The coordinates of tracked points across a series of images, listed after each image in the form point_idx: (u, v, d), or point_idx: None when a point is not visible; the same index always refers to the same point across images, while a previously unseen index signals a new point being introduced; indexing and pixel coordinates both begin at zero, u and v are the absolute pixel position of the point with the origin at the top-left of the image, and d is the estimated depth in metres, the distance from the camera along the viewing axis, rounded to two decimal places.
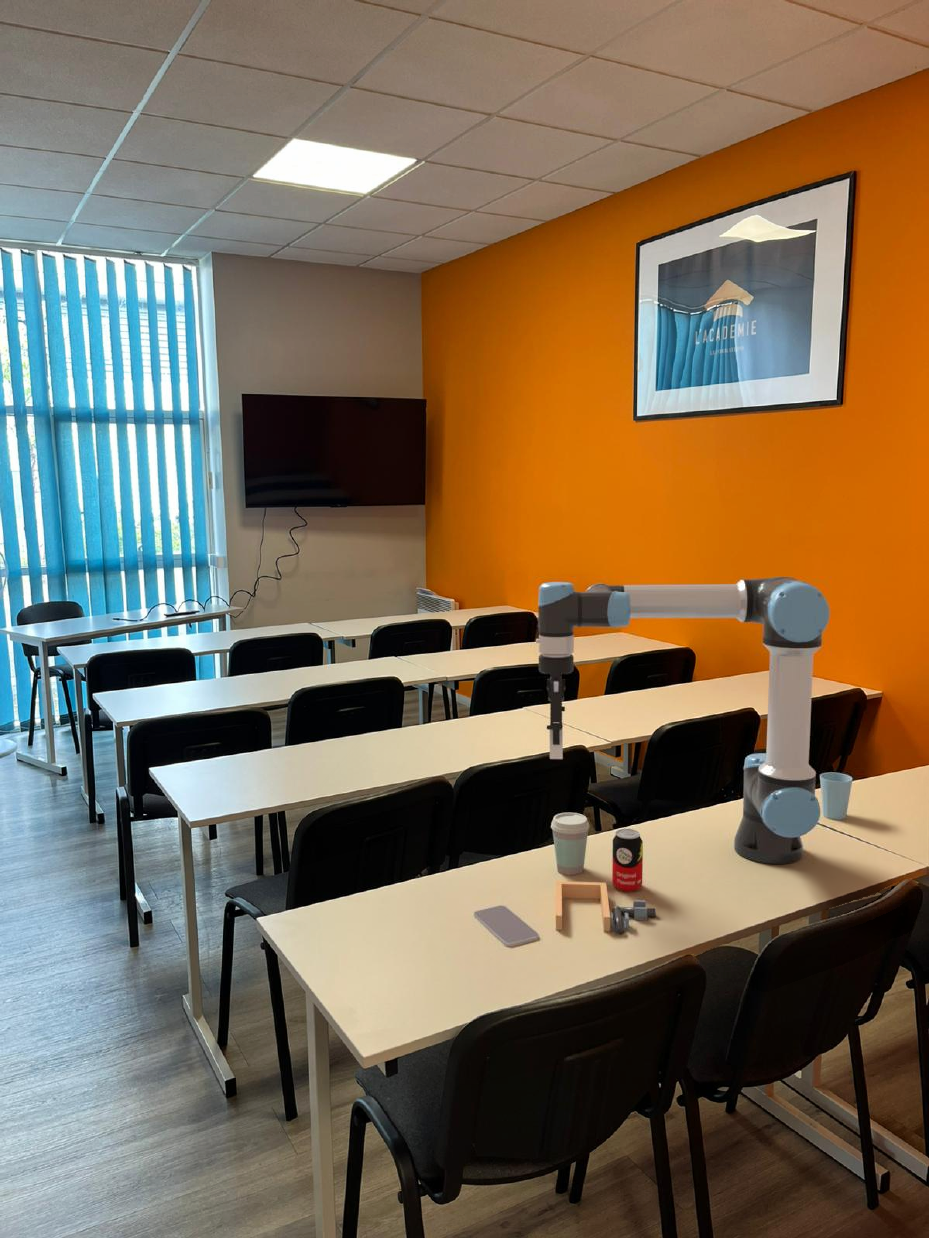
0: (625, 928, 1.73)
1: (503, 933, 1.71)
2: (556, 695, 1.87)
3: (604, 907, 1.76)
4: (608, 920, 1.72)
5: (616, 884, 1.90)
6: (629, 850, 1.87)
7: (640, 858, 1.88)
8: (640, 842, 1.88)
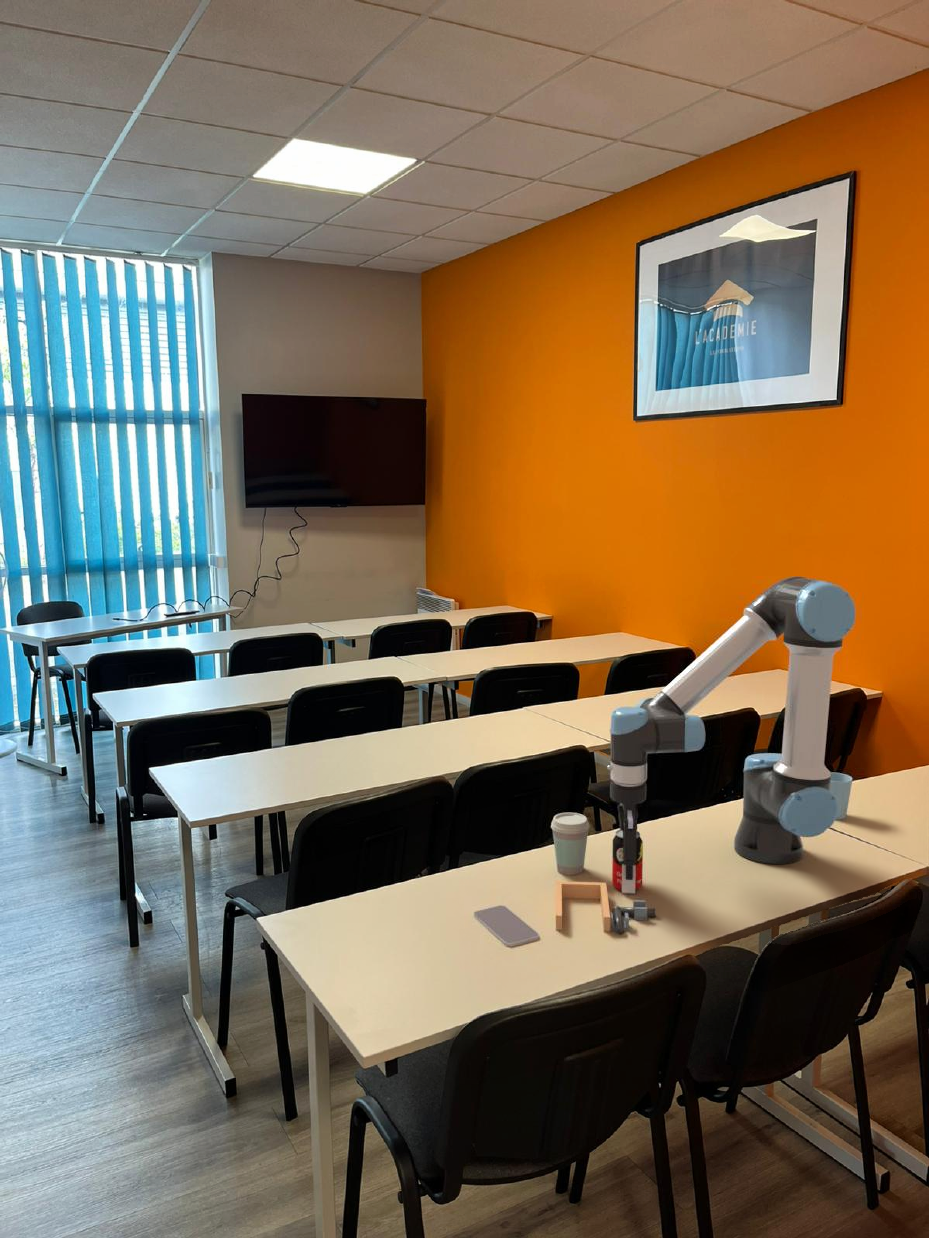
0: (625, 928, 1.73)
1: (503, 933, 1.71)
2: (630, 832, 1.83)
3: (604, 907, 1.76)
4: (608, 920, 1.72)
5: (616, 884, 1.90)
6: None
7: (640, 858, 1.88)
8: (640, 842, 1.88)
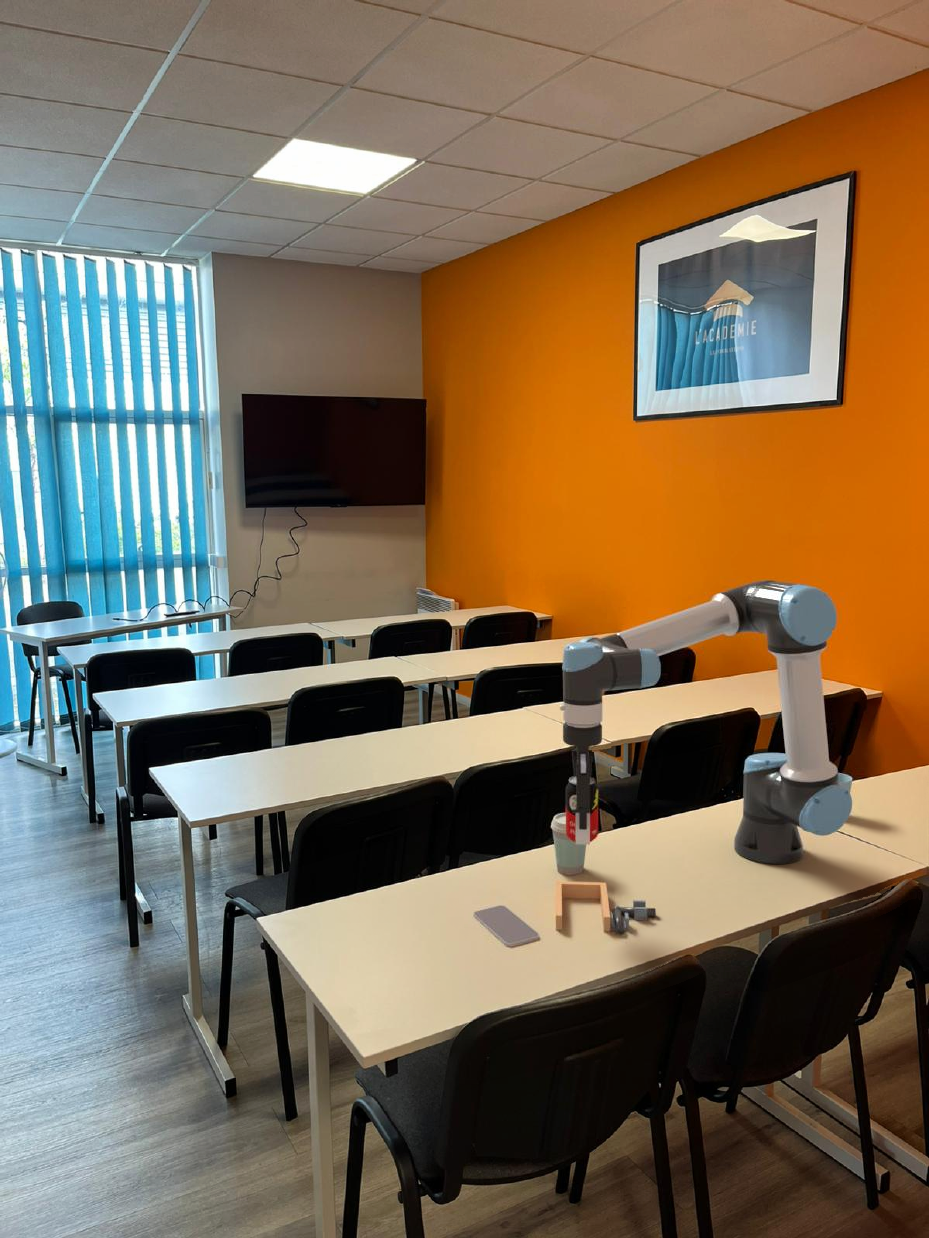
0: (625, 928, 1.73)
1: (503, 933, 1.71)
2: (583, 777, 1.68)
3: (604, 907, 1.76)
4: (608, 920, 1.72)
5: (569, 835, 1.75)
6: None
7: (595, 806, 1.73)
8: (595, 789, 1.73)
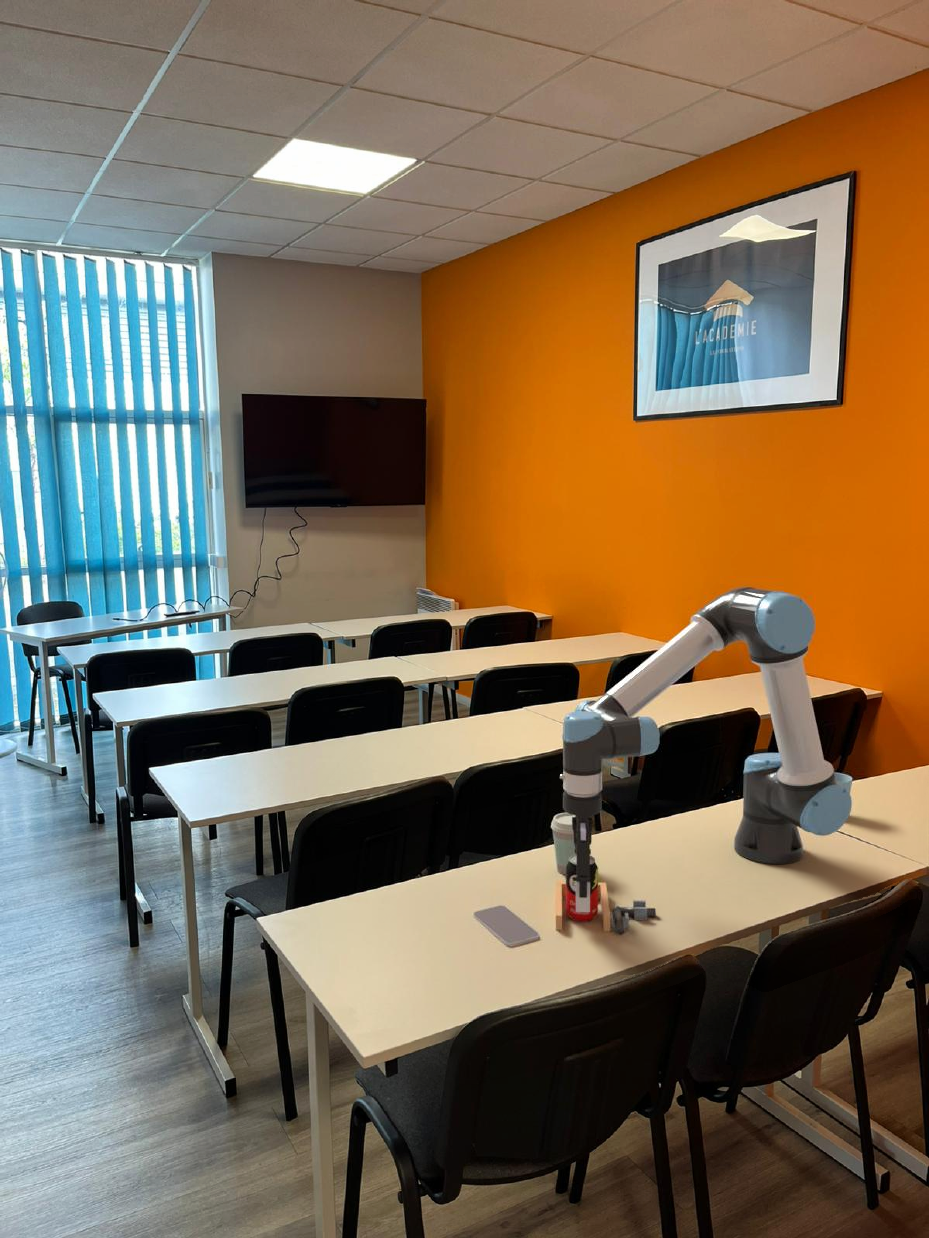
0: (625, 928, 1.73)
1: (503, 933, 1.71)
2: (583, 844, 1.69)
3: (604, 907, 1.76)
4: (608, 920, 1.72)
5: (569, 913, 1.77)
6: None
7: (595, 886, 1.76)
8: (595, 869, 1.76)
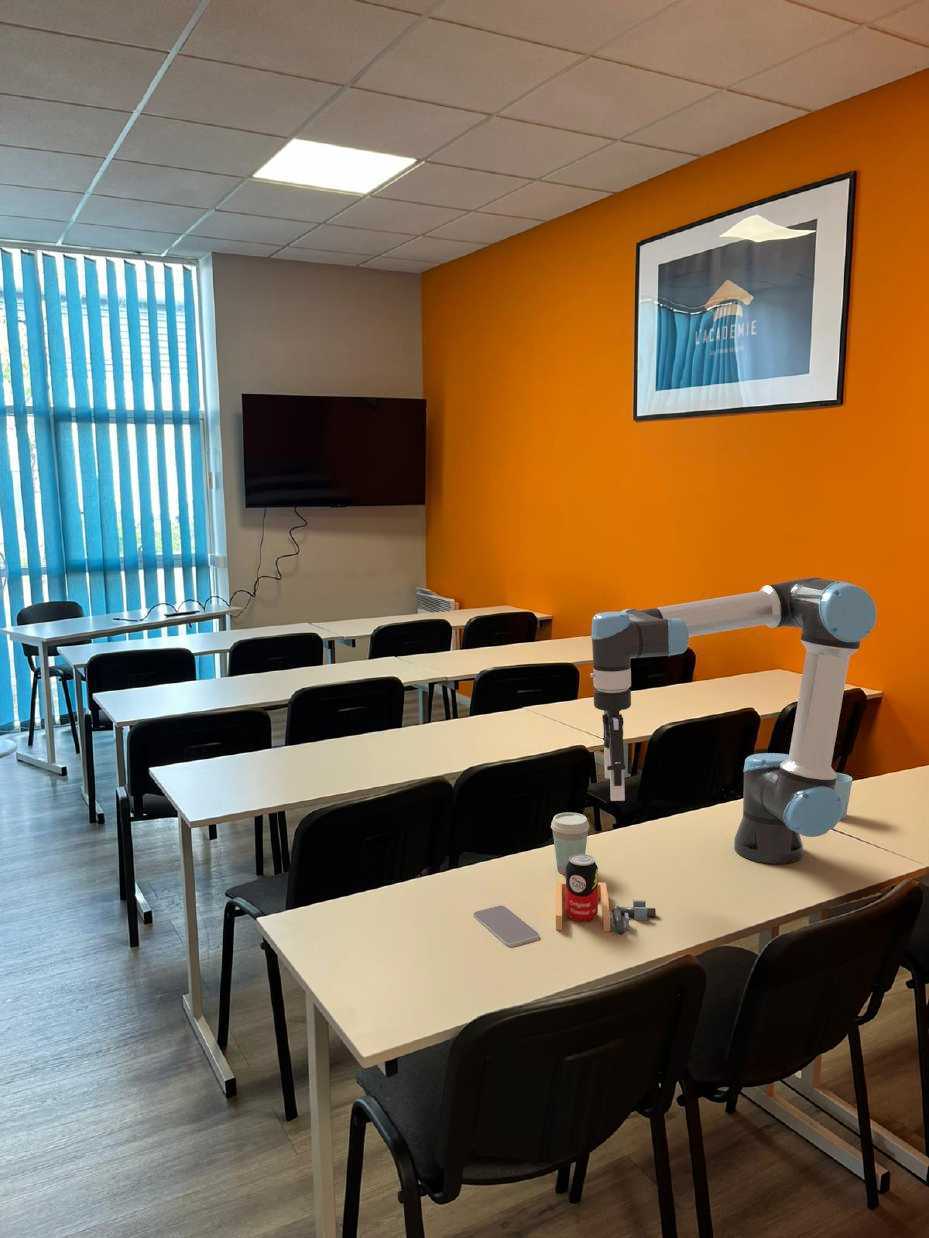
0: (625, 928, 1.73)
1: (503, 933, 1.71)
2: (616, 733, 1.76)
3: (604, 907, 1.76)
4: (608, 920, 1.72)
5: (569, 913, 1.77)
6: (582, 877, 1.74)
7: (595, 886, 1.76)
8: (595, 869, 1.76)
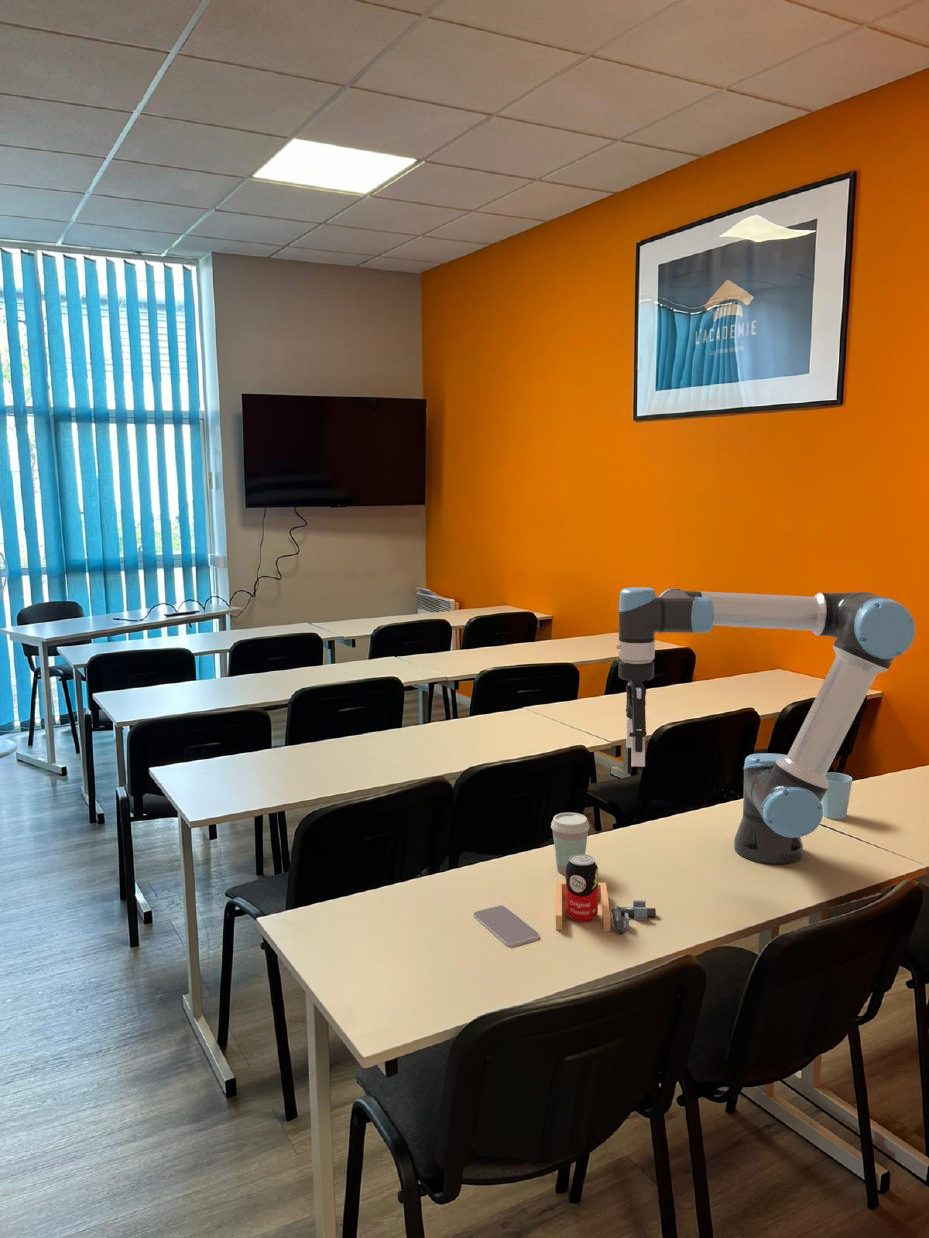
0: (625, 928, 1.73)
1: (504, 933, 1.71)
2: (639, 702, 1.85)
3: (604, 907, 1.76)
4: (608, 920, 1.72)
5: (569, 913, 1.77)
6: (582, 877, 1.74)
7: (595, 886, 1.76)
8: (595, 869, 1.76)
